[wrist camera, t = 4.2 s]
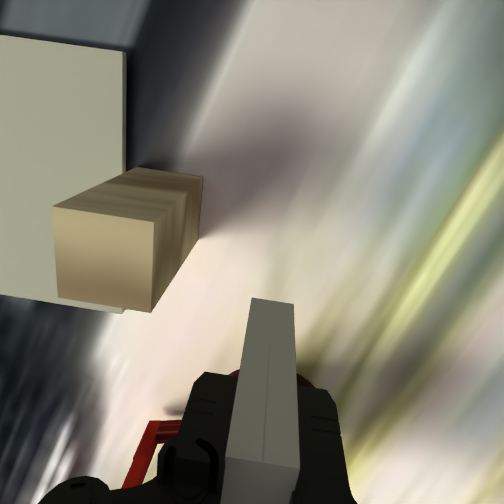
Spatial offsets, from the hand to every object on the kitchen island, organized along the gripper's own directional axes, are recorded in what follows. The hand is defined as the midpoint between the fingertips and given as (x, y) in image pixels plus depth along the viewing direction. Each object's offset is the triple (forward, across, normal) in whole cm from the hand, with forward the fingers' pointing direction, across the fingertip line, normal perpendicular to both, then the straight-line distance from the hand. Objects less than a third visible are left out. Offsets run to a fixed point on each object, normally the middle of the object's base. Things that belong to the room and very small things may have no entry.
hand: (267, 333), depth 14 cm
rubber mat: (+14, -16, 0) cm, 21 cm away
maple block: (+13, -8, 0) cm, 15 cm away
